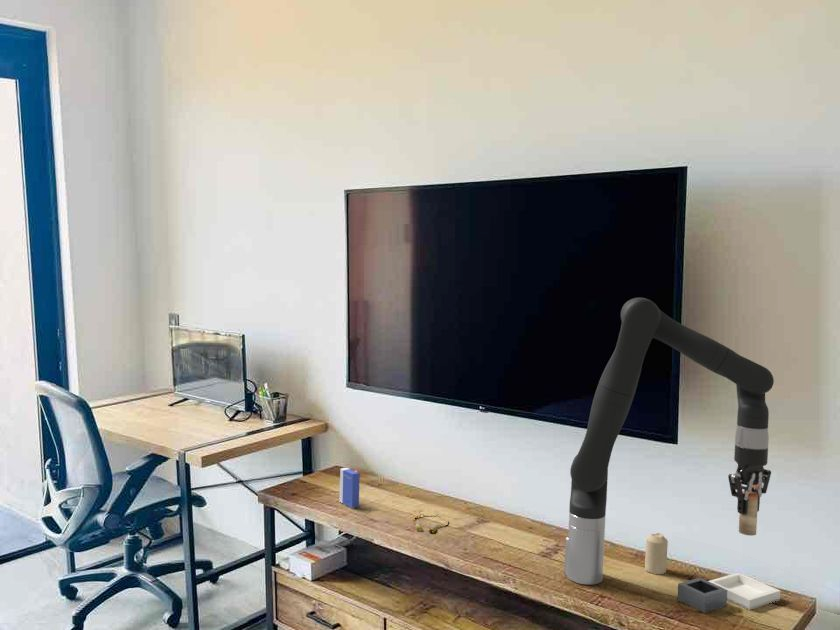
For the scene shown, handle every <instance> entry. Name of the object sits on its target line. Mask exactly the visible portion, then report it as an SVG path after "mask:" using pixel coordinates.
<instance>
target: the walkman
mask: <svg viewBox="0 0 840 630" xmlns="http://www.w3.org/2000/svg"><path fill="white" fill-rule="evenodd" d="M358 471H359V470H353V469H351V468H349V467H344V468H340V474H339V497H338V498H339V499H338V501H339V502H341V503H343V504H345V505H347V506H349V507H348V508H350V507H351V508H350V509H352V508H353V507H358V506H359V507H360V481H361V479H360V478H361V476H360V474H361V473H360V472H358ZM341 503H340V504H341ZM343 504H342V505H343ZM345 505H344V506H345ZM347 506H346V507H347ZM359 507H358V508H359ZM353 509H354V508H353Z"/></svg>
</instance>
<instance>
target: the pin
mask: <svg viewBox="0 0 840 630" xmlns="http://www.w3.org/2000/svg"><path fill="white" fill-rule="evenodd" d="M742 492H743V494H744V490H742ZM747 500H748V507H747V514H745V515H743V514H740V513H739V516H738V517H739V518H738V533H739V534H742V535H745V536H751V537H752V536H756V535H757V527H758V524H757V523H758V512H757V508H758V494H757V493H755V492H751V491H749V494H748V498H747Z"/></svg>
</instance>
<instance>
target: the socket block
mask: <svg viewBox="0 0 840 630" xmlns="http://www.w3.org/2000/svg"><path fill="white" fill-rule="evenodd" d="M709 581H710V580H706V579H704V578H701V577H698V578H693V579H689V580H686V581H683V582H680V583H678V584H677V597H676V598H677V600H678V601H680V602H681V603H684V604H686V605H688V606H690V607H692V608H694V609H696V610H697V611H700V612H702V613H703V614H706V613H709V612H712V611H715V610H718V609H722V608H725V607H727V606H728V604H727V603H728V600H727V590H726V589H724V588H722V587H720V586H717V585H715V584H713V583H711V582H709Z"/></svg>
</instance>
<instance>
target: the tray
mask: <svg viewBox="0 0 840 630" xmlns="http://www.w3.org/2000/svg"><path fill="white" fill-rule="evenodd" d="M708 581H709V582H711V583H713V584H715V585H717V586H720V587H722V588H724V589H726V590H727V602H730V603H732V602H733V604H734V603H735V605H736V604H737V605H736V606H739V607H740V608H743V609H745V610H748V611H751V610H755V609H757V608H761V607H764V606H766V604H767V605H770V604H773V603H776V602H779V601H781V590H780V589H778V588H776V587H773V586H771V585H768V584H766V583H764V582H760V580H759V581H758V580H756V579H754V578H751V577H749V576H746V575H744V574H742V573H740V572H735V573H732V574H728V575H724V576H721V577H718V578H715V579H711V580H708ZM775 601H776V602H775ZM772 602H773V603H772ZM769 603H770V604H769ZM763 605H764V606H763Z"/></svg>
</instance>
